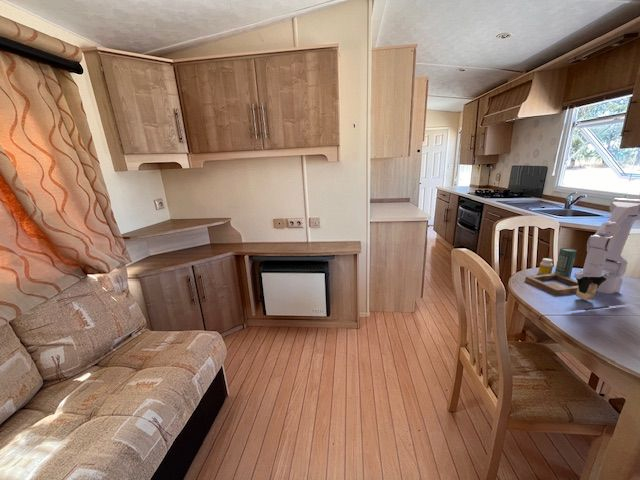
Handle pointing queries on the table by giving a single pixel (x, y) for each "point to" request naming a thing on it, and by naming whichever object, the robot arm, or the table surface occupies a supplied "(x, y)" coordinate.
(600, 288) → the robot arm
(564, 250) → the can
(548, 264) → the supplement bottle
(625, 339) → the table surface
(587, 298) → the beech block
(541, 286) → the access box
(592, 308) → the place mat
